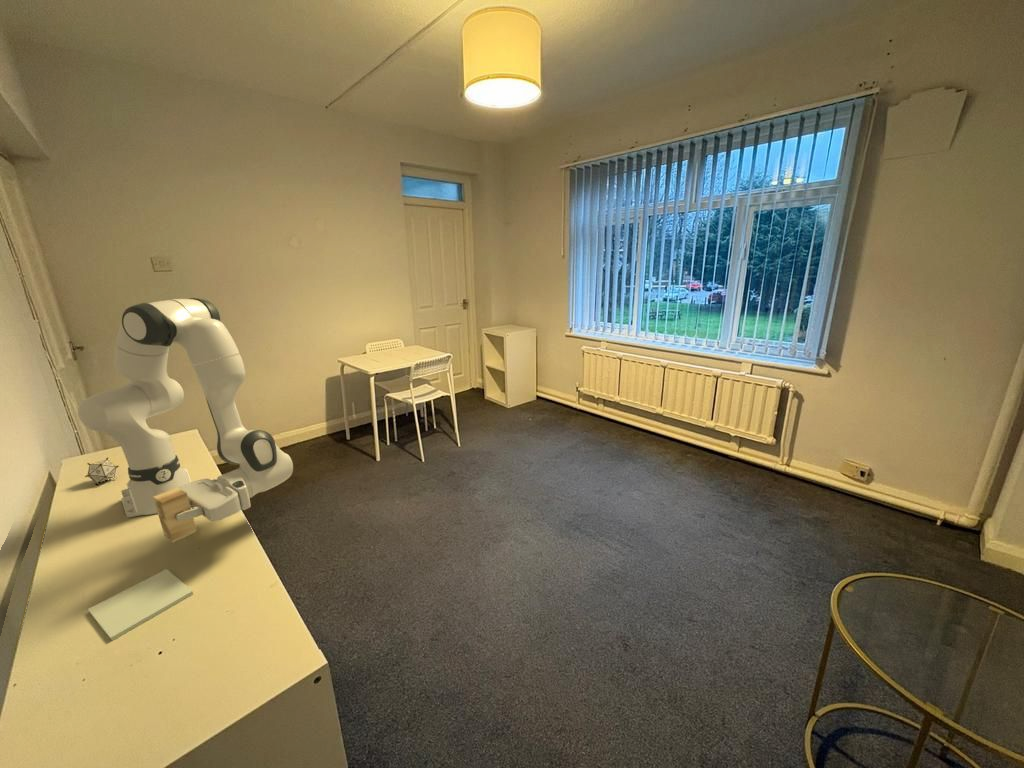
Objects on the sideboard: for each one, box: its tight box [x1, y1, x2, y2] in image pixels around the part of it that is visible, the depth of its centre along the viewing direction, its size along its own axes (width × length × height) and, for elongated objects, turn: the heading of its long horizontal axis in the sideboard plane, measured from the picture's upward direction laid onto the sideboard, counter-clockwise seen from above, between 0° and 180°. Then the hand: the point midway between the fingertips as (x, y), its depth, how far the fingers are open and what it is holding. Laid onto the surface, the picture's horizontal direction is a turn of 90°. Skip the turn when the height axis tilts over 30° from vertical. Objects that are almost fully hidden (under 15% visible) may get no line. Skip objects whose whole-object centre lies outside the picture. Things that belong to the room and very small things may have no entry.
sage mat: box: [87, 568, 194, 641], centre depth 91 cm, size 14×14×1 cm
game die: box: [84, 457, 120, 484], centre depth 144 cm, size 9×8×10 cm
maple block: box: [153, 487, 197, 543], centre depth 101 cm, size 5×5×11 cm
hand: (170, 514), depth 100 cm, fingers closed on maple block, 5 cm apart
